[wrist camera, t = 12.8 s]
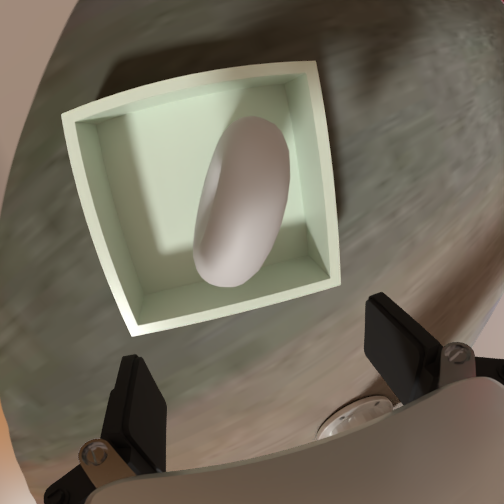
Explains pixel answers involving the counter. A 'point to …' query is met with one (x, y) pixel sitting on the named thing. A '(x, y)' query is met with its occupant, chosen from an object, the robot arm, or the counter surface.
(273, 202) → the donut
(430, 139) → the counter surface
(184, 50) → the counter surface
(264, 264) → the bin
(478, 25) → the counter surface
